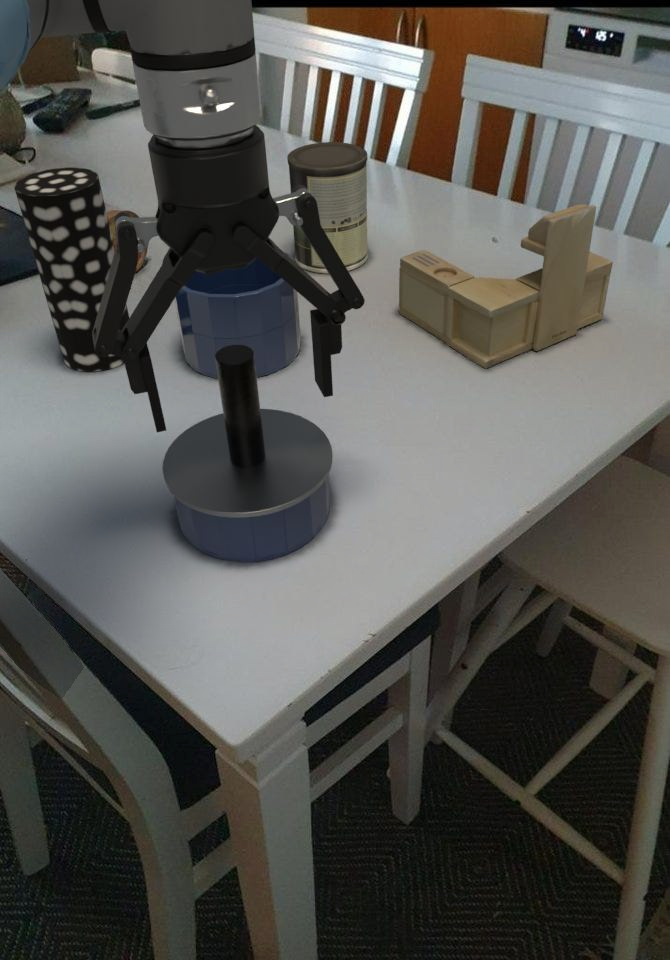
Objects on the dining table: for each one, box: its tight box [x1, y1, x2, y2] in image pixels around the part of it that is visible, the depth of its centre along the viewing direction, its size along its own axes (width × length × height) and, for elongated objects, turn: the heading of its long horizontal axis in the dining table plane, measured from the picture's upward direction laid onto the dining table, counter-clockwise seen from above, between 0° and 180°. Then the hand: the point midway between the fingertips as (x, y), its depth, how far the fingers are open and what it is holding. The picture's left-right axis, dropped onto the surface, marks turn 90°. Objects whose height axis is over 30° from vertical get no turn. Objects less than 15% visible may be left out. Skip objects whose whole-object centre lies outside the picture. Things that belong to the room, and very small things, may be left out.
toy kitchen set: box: [398, 203, 614, 369], centre depth 93 cm, size 18×17×15 cm
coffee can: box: [286, 141, 369, 275], centre depth 108 cm, size 10×10×14 cm
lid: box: [161, 345, 334, 518], centre depth 66 cm, size 14×14×11 cm
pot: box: [173, 251, 302, 379], centre depth 91 cm, size 13×13×10 cm
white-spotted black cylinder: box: [13, 166, 130, 373], centre depth 88 cm, size 8×8×20 cm
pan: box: [173, 473, 331, 563], centre depth 71 cm, size 13×13×5 cm
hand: (243, 405), depth 65 cm, fingers open, 13 cm apart
